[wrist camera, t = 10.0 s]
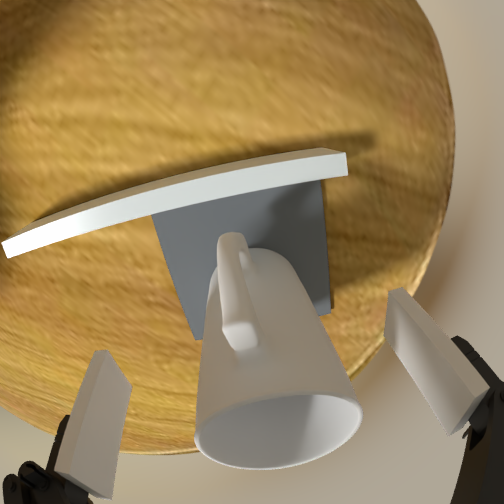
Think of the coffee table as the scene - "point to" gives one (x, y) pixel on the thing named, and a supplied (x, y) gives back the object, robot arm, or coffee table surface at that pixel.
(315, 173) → the wall
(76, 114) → the coffee table surface
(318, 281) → the mat
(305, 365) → the mug
